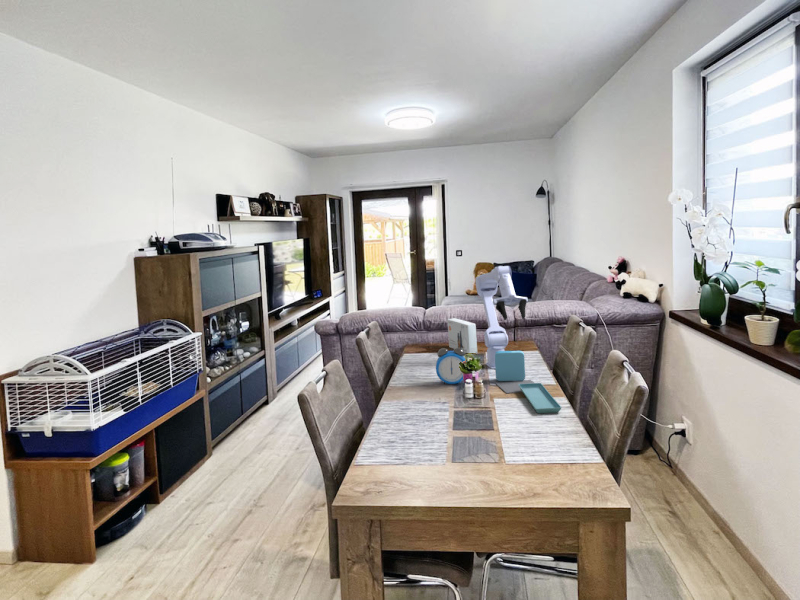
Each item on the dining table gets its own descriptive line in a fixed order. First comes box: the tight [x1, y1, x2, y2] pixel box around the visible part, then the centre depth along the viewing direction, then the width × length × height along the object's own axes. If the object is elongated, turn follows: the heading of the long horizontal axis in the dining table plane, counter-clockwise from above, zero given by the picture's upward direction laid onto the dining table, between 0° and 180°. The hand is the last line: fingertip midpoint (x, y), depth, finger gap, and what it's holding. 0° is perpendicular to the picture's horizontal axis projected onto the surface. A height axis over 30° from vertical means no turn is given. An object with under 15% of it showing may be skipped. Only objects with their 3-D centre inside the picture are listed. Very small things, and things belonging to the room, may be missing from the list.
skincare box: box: [446, 317, 478, 354], centre depth 275 cm, size 21×5×16 cm, turn 25°
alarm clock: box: [435, 347, 466, 385], centre depth 219 cm, size 13×6×15 cm, turn 85°
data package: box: [494, 350, 526, 382], centre depth 218 cm, size 12×4×12 cm, turn 79°
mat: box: [495, 379, 535, 395], centre depth 209 cm, size 13×15×1 cm
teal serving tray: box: [518, 382, 562, 414], centre depth 191 cm, size 26×9×2 cm, turn 0°
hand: (514, 318), depth 212 cm, fingers open, 7 cm apart
